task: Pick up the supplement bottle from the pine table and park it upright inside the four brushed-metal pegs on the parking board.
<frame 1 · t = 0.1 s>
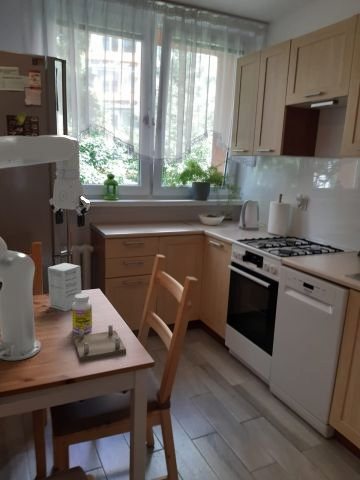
hand: (70, 225, 129), 37 cm above the table, tool pointing down, fingers open, 9 cm apart
supplement box: (66, 306, 152), on the table
parking board: (99, 347, 119), on the table
supplement bottle: (82, 330, 131), on the table
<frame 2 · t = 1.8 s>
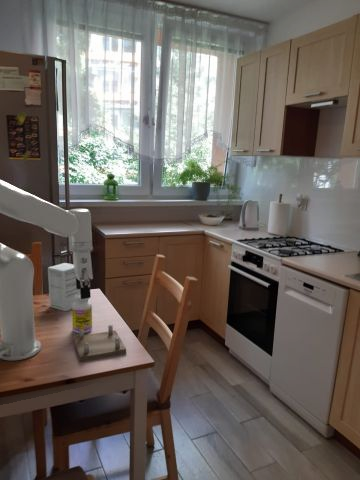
hand: (83, 293, 128), 13 cm above the table, tool pointing down, fingers open, 9 cm apart
nothing on the table moved.
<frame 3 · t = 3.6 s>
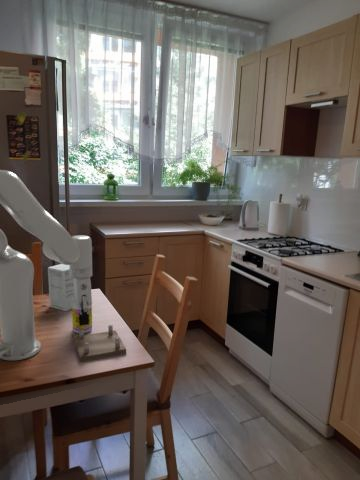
hand: (82, 320, 130), 4 cm above the table, tool pointing down, fingers closed on supplement bottle, 6 cm apart
supplement bottle: (82, 330, 131), on the table, touching gripper
everything else where it was.
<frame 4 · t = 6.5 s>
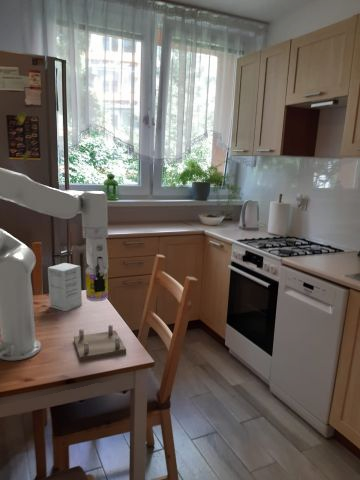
hand: (96, 287, 116), 20 cm above the table, tool pointing down, fingers closed on supplement bottle, 6 cm apart
supplement bottle: (97, 299, 117), point 16 cm above the table, touching gripper
everything else where it was.
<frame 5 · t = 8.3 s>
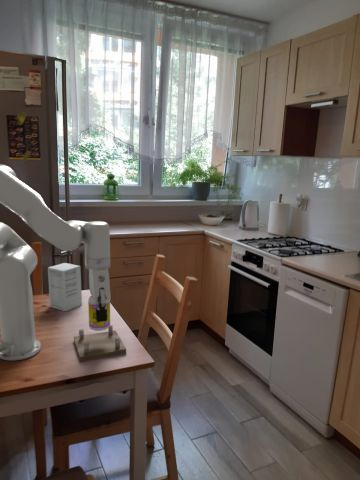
hand: (99, 316, 117), 11 cm above the table, tool pointing down, fingers closed on supplement bottle, 6 cm apart
supplement bottle: (99, 327, 117), point 7 cm above the table, touching gripper
everything else where it was.
when the fingers open (7 cm above the table, at t = 9.9 s): supplement bottle drops 1 cm, resting on parking board.
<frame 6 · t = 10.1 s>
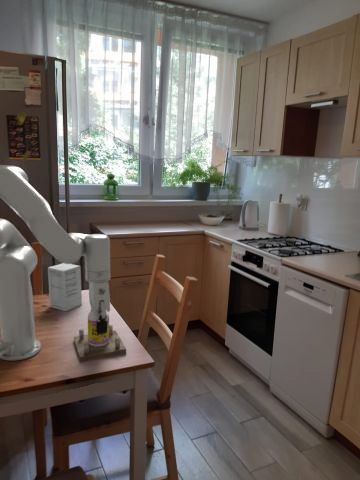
hand: (98, 326, 117), 7 cm above the table, tool pointing down, fingers open, 8 cm apart
supplement bottle: (98, 343, 119), point 1 cm above the table, touching parking board
everything else where it was.
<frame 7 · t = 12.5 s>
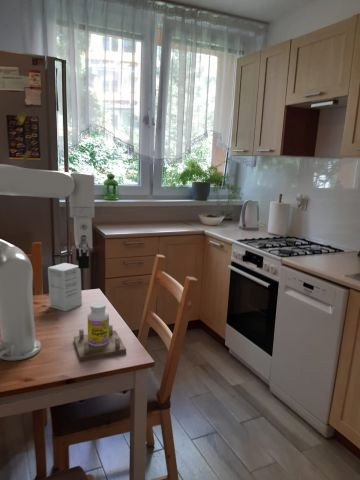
hand: (82, 264, 120), 26 cm above the table, tool pointing down, fingers open, 9 cm apart
nothing on the table moved.
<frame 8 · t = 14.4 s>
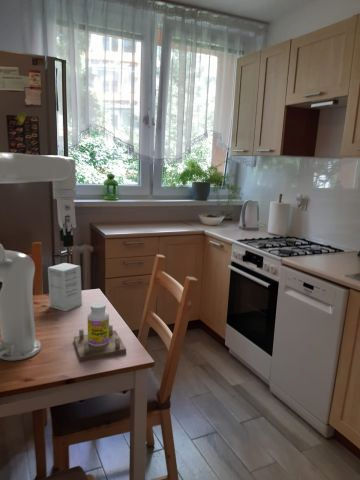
hand: (66, 243, 128), 30 cm above the table, tool pointing down, fingers open, 9 cm apart
nothing on the table moved.
at the end: supplement bottle 0.2 cm from the parking board (horizontally); supplement bottle tilted 0°; the gripper is holding nothing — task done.
